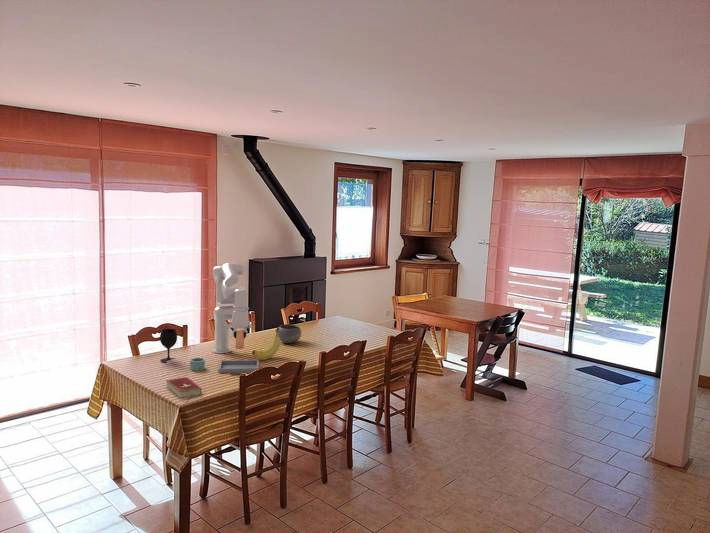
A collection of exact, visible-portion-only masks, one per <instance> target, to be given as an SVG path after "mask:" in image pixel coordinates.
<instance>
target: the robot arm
mask: <svg viewBox="0 0 710 533" xmlns="http://www.w3.org/2000/svg"><path fill="white" fill-rule="evenodd" d="M244 274H245V267H244V264H243V263H240V262H227V263H224V264H223V265H218V266H214V267H213V269H212V276H213V279H214V283H215V300H216V302H215V303H216V304H219V306H216V307H215V308H214V310H213V316H214V348H212V350H211V351H212V353H214V354H227V353H230V352H232V348H230V346H229V345H230V344H229V343H230V331H232V332H233V338H234V339H235V340H236V330H237V328H238V329H239V328H240V329H241V328H242V329H243V330H244V340H245V339H246V337H247V332H248V331H249V330H250V329H252V328H253V325H252V324H251V322H250V320H249V310H250V306H249V307H248V290H247V289H246V287H244V286H235V285H237V284H238V282H239V278H241V277H242V276H243V275H244ZM228 320H231V322H230V323H229V324H228V322H227V321H228Z"/></svg>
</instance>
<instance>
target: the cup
mask: <svg viewBox="0 0 710 533" xmlns="http://www.w3.org/2000/svg"><path fill="white" fill-rule="evenodd" d="M189 364H190V365H189V370H191V371H195V372H200V371H203V370H205V368H206V359H205V358H203V357H192V358H191V359H190V362H189Z"/></svg>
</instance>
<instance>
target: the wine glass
mask: <svg viewBox="0 0 710 533" xmlns="http://www.w3.org/2000/svg"><path fill="white" fill-rule="evenodd" d="M159 340H160V341H159V342H160V344H161V345H162V346H163V347H164V348H166V349H167V357H165V358H162V359H161V358H160V360H159V362H160V361H161V362H160V363H162V362H163V363H162V364H167V363H168V362H169V361H171V360H176V358H174V357H170V351H171V348H173V347H174V346H175V345H176V343H177V341H178V333H177V330H176V329H175V328H165V329H162V330H161V331H160V334H159Z"/></svg>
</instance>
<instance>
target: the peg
mask: <svg viewBox="0 0 710 533" xmlns="http://www.w3.org/2000/svg"><path fill="white" fill-rule="evenodd" d="M244 331H245V330H244V329H236V339H235V349H236V350H242V349H244V348H245V339H244Z"/></svg>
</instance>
